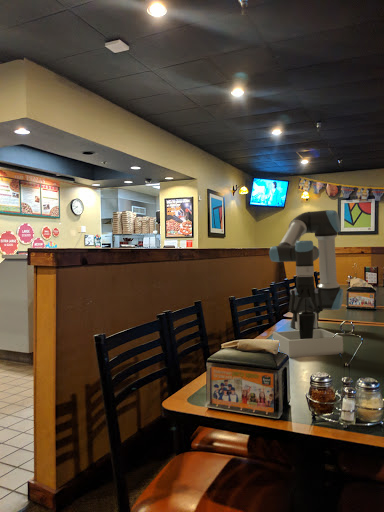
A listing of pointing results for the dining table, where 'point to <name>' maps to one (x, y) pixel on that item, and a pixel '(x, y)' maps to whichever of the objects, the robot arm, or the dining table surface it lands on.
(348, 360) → the dining table surface
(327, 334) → the box
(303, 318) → the drinking cup
